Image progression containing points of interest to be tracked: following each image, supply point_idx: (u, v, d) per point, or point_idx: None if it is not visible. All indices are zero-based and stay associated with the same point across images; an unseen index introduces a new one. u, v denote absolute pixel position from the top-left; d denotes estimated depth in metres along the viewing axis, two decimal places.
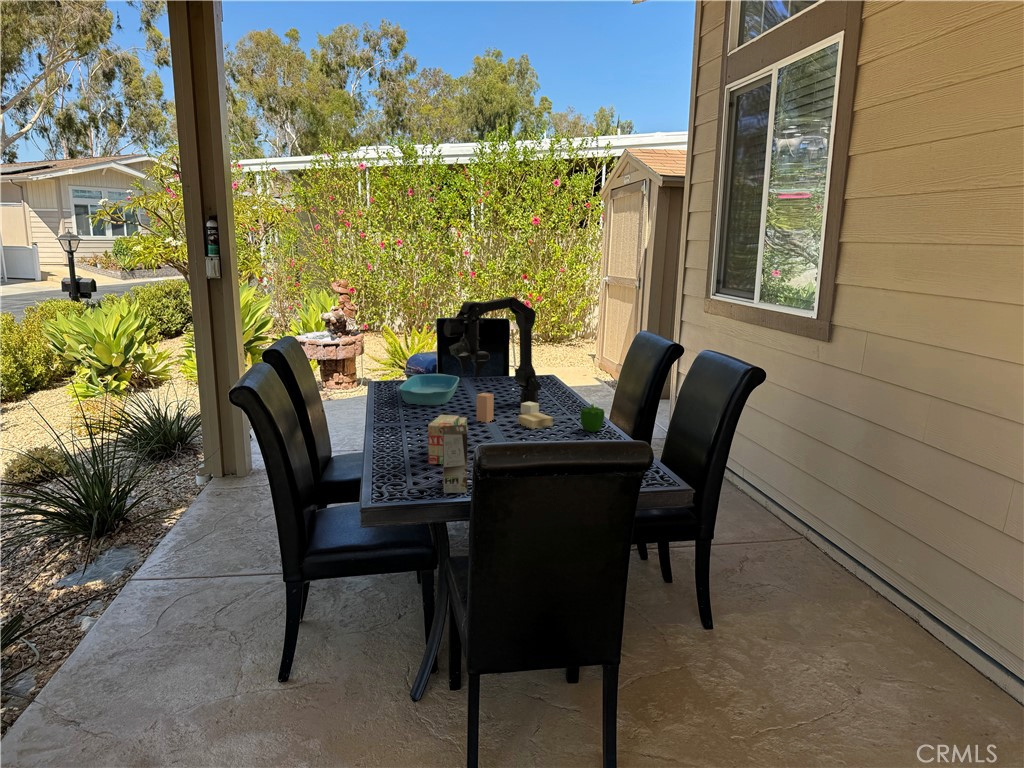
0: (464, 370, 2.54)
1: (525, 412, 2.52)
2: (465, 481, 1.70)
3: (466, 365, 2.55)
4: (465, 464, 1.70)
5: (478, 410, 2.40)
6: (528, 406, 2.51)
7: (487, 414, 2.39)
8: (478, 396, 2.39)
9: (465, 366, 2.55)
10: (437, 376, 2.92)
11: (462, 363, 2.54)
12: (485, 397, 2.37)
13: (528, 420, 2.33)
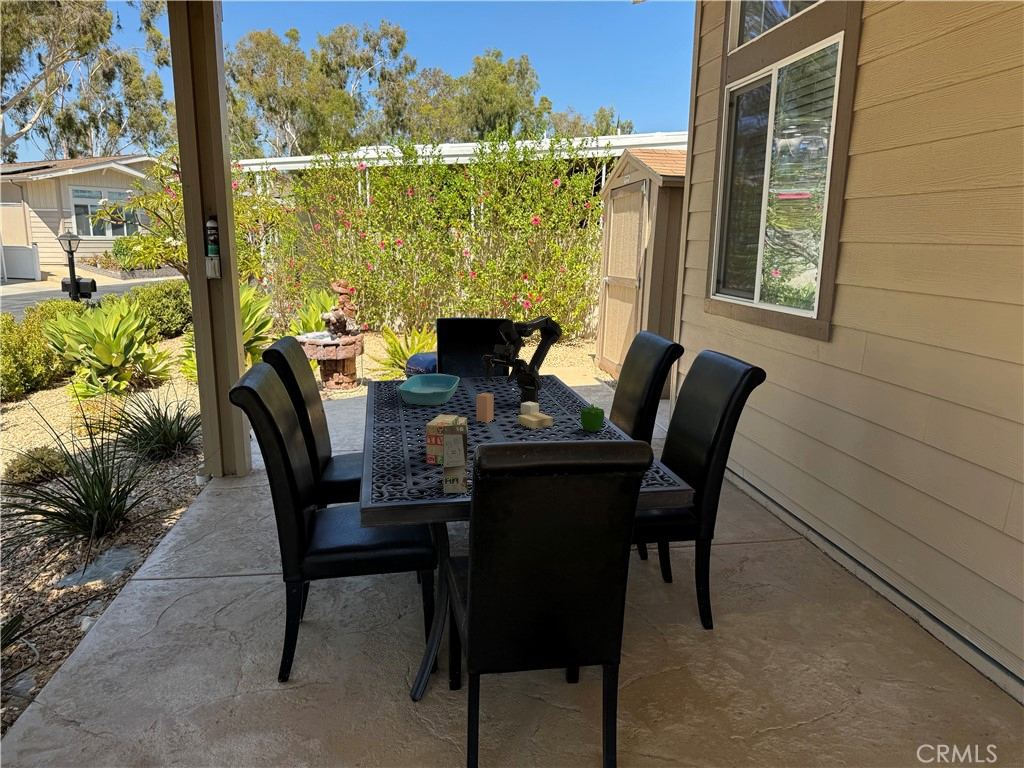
0: (488, 377, 2.49)
1: (525, 412, 2.52)
2: (465, 481, 1.70)
3: (490, 375, 2.50)
4: (465, 464, 1.70)
5: (478, 410, 2.40)
6: (528, 406, 2.51)
7: (487, 414, 2.39)
8: (478, 396, 2.39)
9: (490, 375, 2.50)
10: (437, 376, 2.92)
11: (489, 370, 2.49)
12: (485, 397, 2.37)
13: (528, 420, 2.33)
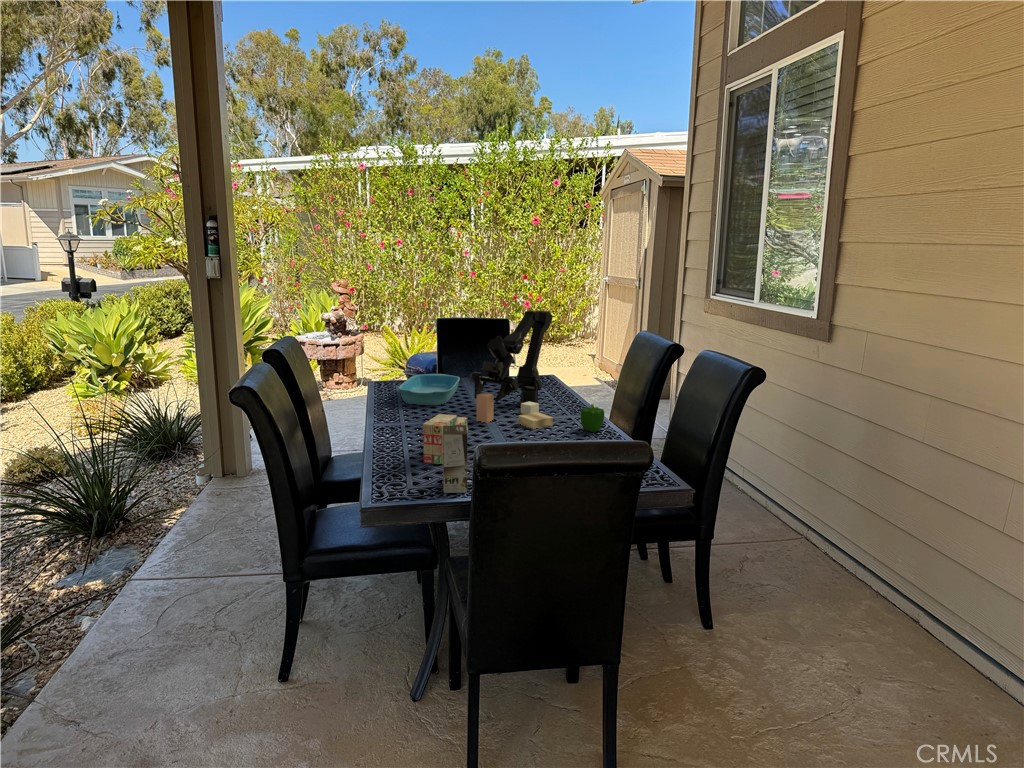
0: (476, 395, 2.43)
1: (525, 412, 2.52)
2: (465, 481, 1.70)
3: (479, 392, 2.45)
4: (465, 464, 1.70)
5: (478, 410, 2.40)
6: (528, 406, 2.51)
7: (487, 414, 2.39)
8: (478, 396, 2.39)
9: (478, 392, 2.44)
10: (438, 376, 2.92)
11: (478, 388, 2.44)
12: (485, 397, 2.37)
13: (528, 420, 2.33)
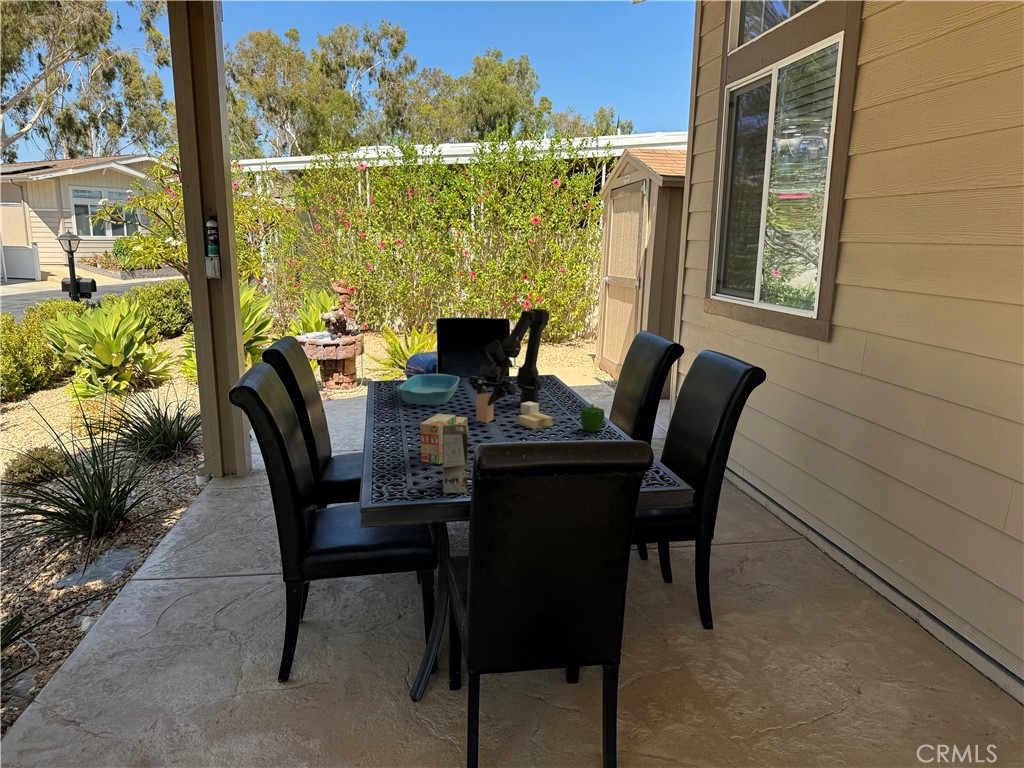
0: None
1: (525, 412, 2.52)
2: (465, 481, 1.70)
3: None
4: (465, 464, 1.70)
5: (478, 410, 2.40)
6: (528, 406, 2.51)
7: (487, 414, 2.39)
8: (478, 396, 2.39)
9: None
10: (438, 376, 2.92)
11: (480, 393, 2.42)
12: (485, 397, 2.37)
13: (528, 420, 2.33)
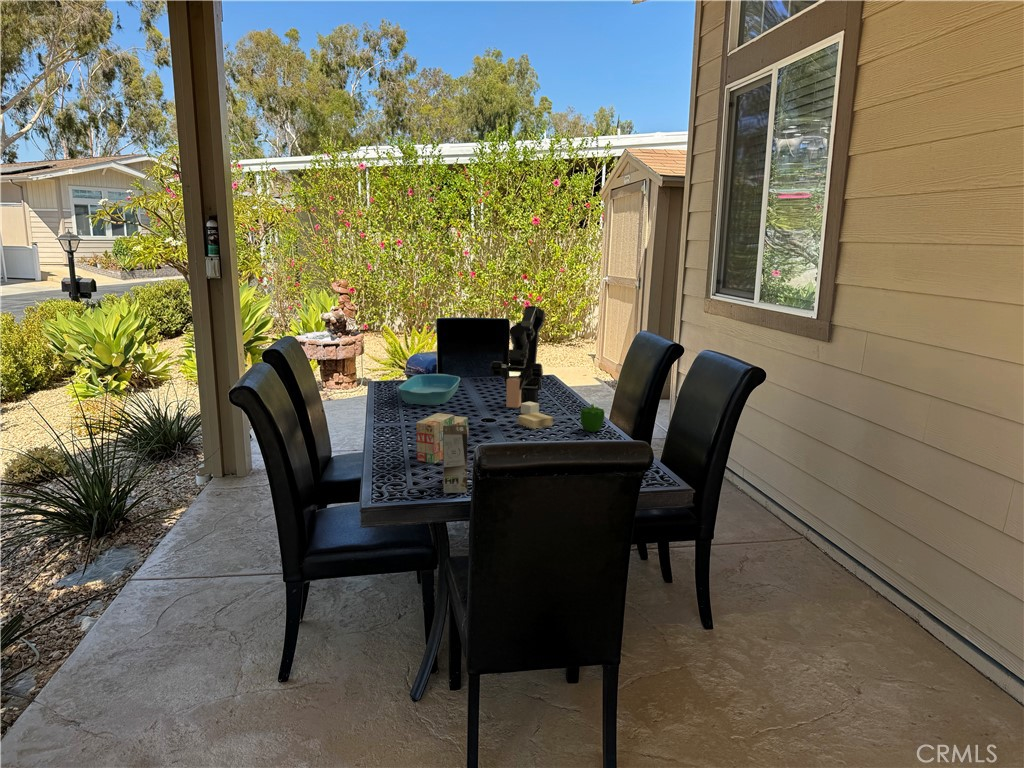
0: None
1: (525, 412, 2.52)
2: (465, 481, 1.70)
3: None
4: (465, 464, 1.70)
5: (508, 395, 2.34)
6: (528, 406, 2.51)
7: (518, 398, 2.34)
8: (508, 381, 2.33)
9: None
10: (439, 376, 2.92)
11: (507, 377, 2.36)
12: (517, 381, 2.32)
13: (529, 420, 2.33)
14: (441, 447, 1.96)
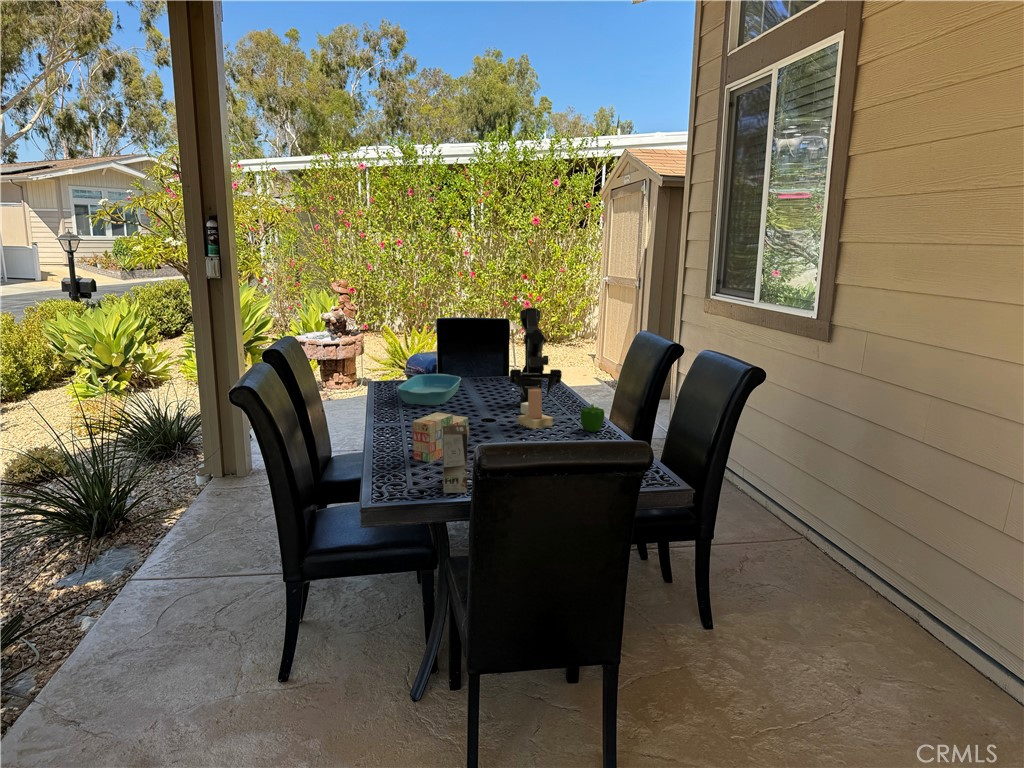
0: None
1: (525, 412, 2.52)
2: (465, 481, 1.70)
3: None
4: (465, 464, 1.70)
5: (531, 406, 2.34)
6: None
7: (541, 409, 2.35)
8: (531, 392, 2.33)
9: None
10: (440, 376, 2.92)
11: (524, 385, 2.35)
12: (539, 392, 2.33)
13: (529, 421, 2.33)
14: (437, 446, 1.97)
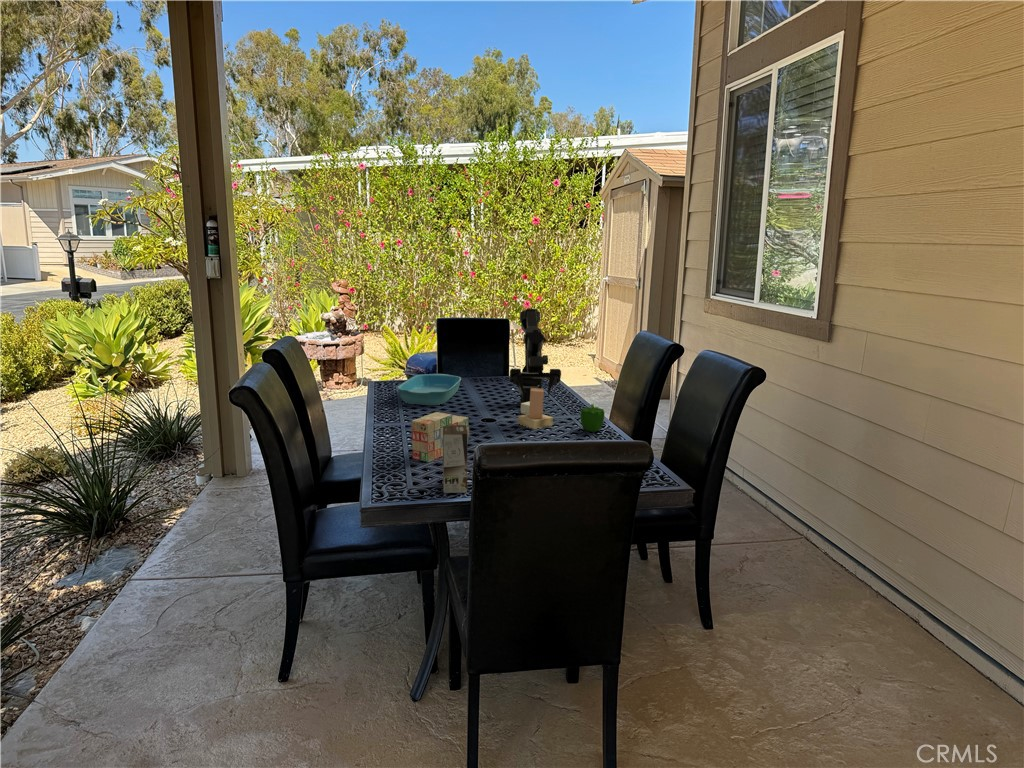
0: (523, 392, 2.36)
1: (525, 412, 2.52)
2: (465, 481, 1.70)
3: None
4: (465, 464, 1.70)
5: (532, 406, 2.34)
6: (528, 406, 2.51)
7: (542, 409, 2.35)
8: (533, 392, 2.32)
9: None
10: (440, 376, 2.92)
11: (522, 384, 2.37)
12: (542, 392, 2.32)
13: (529, 421, 2.33)
14: (436, 446, 1.97)
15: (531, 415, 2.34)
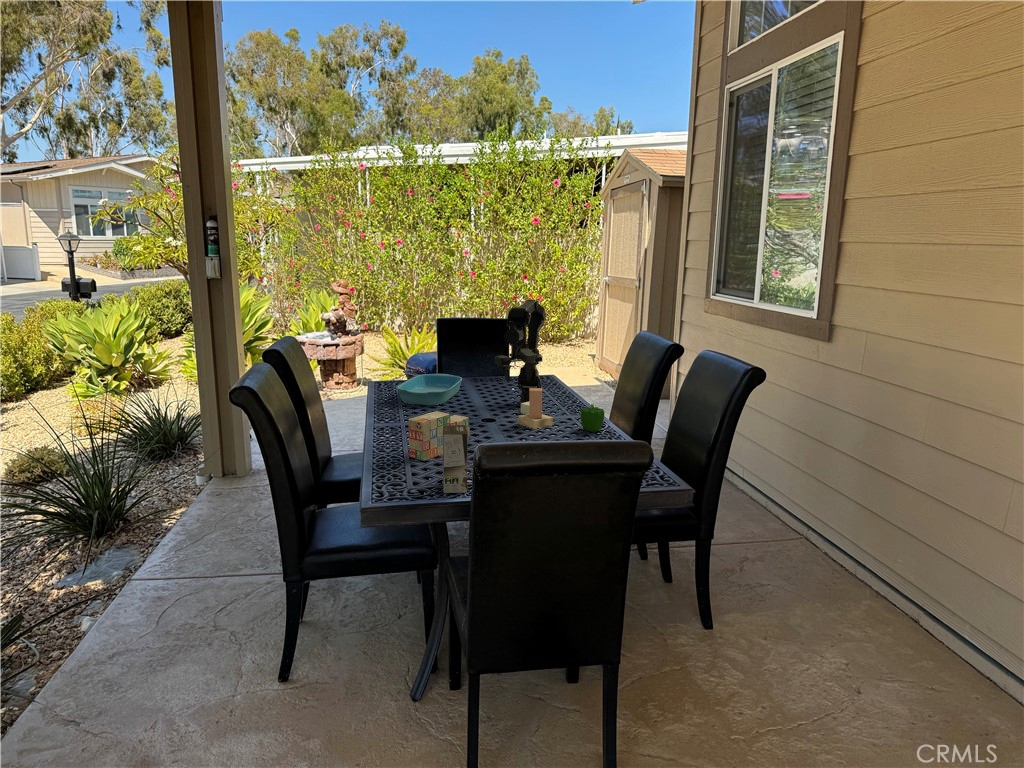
0: None
1: (525, 412, 2.52)
2: (465, 481, 1.70)
3: None
4: (465, 464, 1.70)
5: (531, 406, 2.34)
6: (528, 406, 2.51)
7: (541, 409, 2.35)
8: (531, 391, 2.33)
9: None
10: (442, 376, 2.92)
11: None
12: (540, 391, 2.33)
13: (529, 420, 2.33)
14: (432, 445, 1.98)
15: (531, 415, 2.35)
